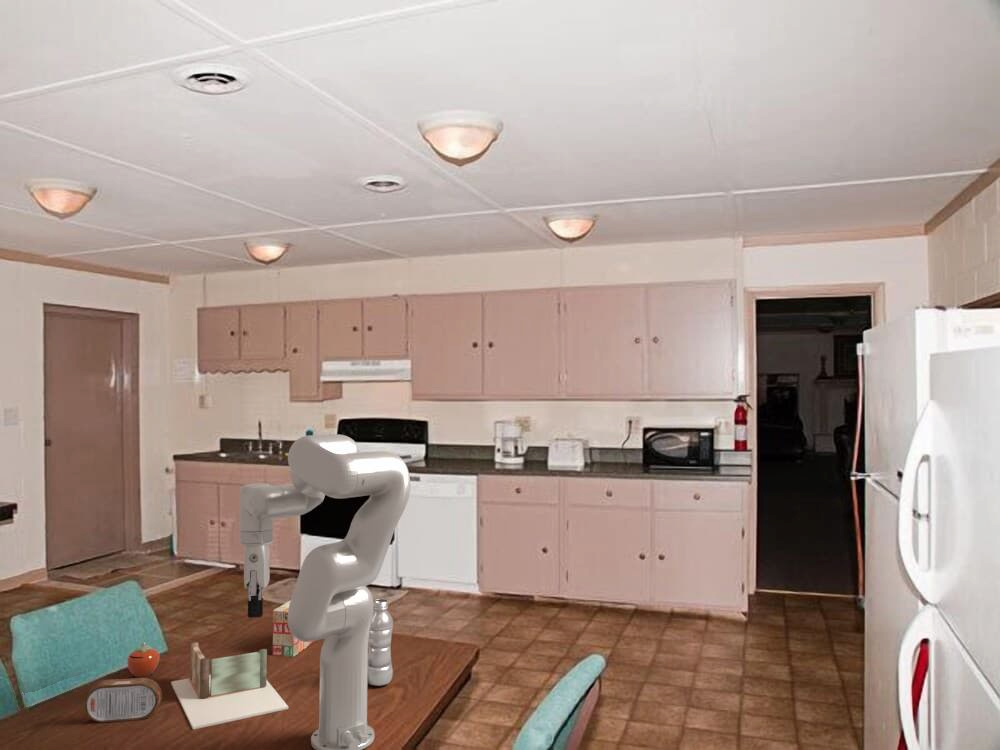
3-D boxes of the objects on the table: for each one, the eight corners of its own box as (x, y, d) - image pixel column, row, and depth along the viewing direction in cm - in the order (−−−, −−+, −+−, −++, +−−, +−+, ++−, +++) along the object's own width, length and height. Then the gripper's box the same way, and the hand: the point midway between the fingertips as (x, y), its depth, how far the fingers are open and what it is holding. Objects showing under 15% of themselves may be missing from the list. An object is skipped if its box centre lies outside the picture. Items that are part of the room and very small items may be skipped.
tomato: (119, 678, 183) (120, 645, 184) (141, 668, 191) (141, 636, 191) (145, 681, 182) (146, 648, 182) (166, 670, 189) (166, 638, 189)
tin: (161, 713, 164) (162, 675, 164) (158, 720, 161) (159, 680, 161) (86, 719, 160) (87, 680, 161) (81, 726, 157) (82, 685, 158)
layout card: (288, 708, 166) (288, 706, 166) (192, 729, 156) (192, 726, 156) (255, 668, 191) (255, 665, 191) (171, 683, 180) (171, 681, 180)
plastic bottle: (359, 686, 180) (360, 602, 180) (377, 676, 186) (377, 596, 186) (381, 691, 177) (382, 606, 177) (398, 681, 183) (399, 599, 183)
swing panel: (211, 696, 171) (212, 659, 171) (210, 693, 173) (210, 657, 173) (267, 686, 177) (267, 650, 178) (265, 683, 179) (265, 648, 179)
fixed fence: (209, 697, 171) (210, 660, 171) (200, 699, 170) (201, 661, 170) (197, 676, 183) (198, 641, 184) (188, 678, 182) (189, 643, 183)
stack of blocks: (306, 631, 222) (307, 589, 222) (326, 632, 220) (327, 590, 221) (271, 655, 201) (272, 609, 201) (293, 657, 199) (294, 611, 200)
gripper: (269, 542, 168) (269, 624, 167) (275, 531, 182) (274, 606, 182) (234, 543, 166) (233, 627, 165) (243, 532, 181) (242, 608, 180)
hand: (255, 616), depth 173 cm, fingers closed
